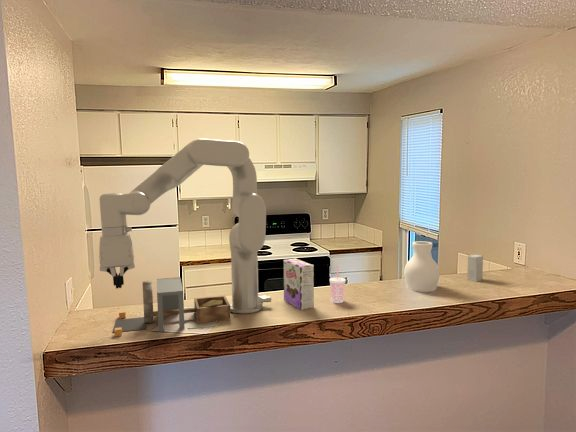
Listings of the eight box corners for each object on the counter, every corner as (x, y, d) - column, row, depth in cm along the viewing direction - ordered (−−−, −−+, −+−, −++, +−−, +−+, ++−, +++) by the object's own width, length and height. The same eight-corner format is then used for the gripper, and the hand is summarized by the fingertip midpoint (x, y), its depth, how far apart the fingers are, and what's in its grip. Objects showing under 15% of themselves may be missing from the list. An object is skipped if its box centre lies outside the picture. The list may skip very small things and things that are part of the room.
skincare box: (473, 280, 198) (474, 254, 196) (482, 282, 194) (483, 255, 193) (466, 282, 194) (467, 255, 192) (475, 284, 190) (476, 257, 189)
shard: (219, 311, 157) (217, 307, 158) (235, 303, 154) (233, 299, 155) (198, 312, 148) (197, 306, 149) (215, 303, 145) (213, 298, 146)
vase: (425, 296, 173) (426, 246, 171) (396, 289, 184) (397, 242, 182) (446, 290, 182) (447, 243, 179) (417, 283, 193) (418, 238, 191)
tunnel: (211, 307, 162) (210, 274, 161) (219, 325, 143) (218, 288, 142) (116, 316, 153) (114, 281, 152) (111, 337, 134) (108, 297, 133)
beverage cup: (327, 304, 165) (327, 267, 163) (331, 299, 171) (331, 264, 169) (344, 305, 163) (344, 268, 162) (346, 300, 169) (346, 265, 167)
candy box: (283, 301, 169) (282, 259, 168) (296, 298, 172) (296, 257, 170) (300, 311, 157) (300, 266, 155) (314, 308, 160) (314, 264, 158)
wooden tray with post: (225, 309, 160) (224, 271, 158) (230, 319, 148) (229, 279, 147) (144, 317, 152) (142, 278, 150) (143, 329, 141) (141, 286, 139)
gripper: (139, 228, 146) (143, 282, 149) (91, 231, 142) (95, 286, 144) (138, 231, 139) (142, 287, 141) (87, 235, 135) (92, 293, 137)
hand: (118, 287), depth 143 cm, fingers closed
